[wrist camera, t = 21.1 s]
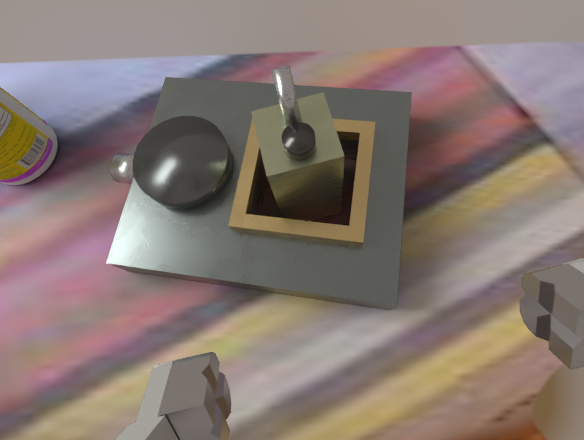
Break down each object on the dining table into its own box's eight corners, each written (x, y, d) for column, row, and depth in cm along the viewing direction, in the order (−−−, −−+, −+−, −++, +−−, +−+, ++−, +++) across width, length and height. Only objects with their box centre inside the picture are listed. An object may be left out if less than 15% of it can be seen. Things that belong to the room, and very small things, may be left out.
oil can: (286, 227, 29) (257, 152, 18) (271, 169, 30) (237, 69, 19) (340, 212, 28) (346, 128, 17) (323, 156, 30) (318, 47, 19)
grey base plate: (99, 267, 29) (59, 253, 25) (154, 98, 34) (129, 62, 30) (389, 310, 26) (401, 302, 21) (404, 115, 31) (415, 78, 26)
